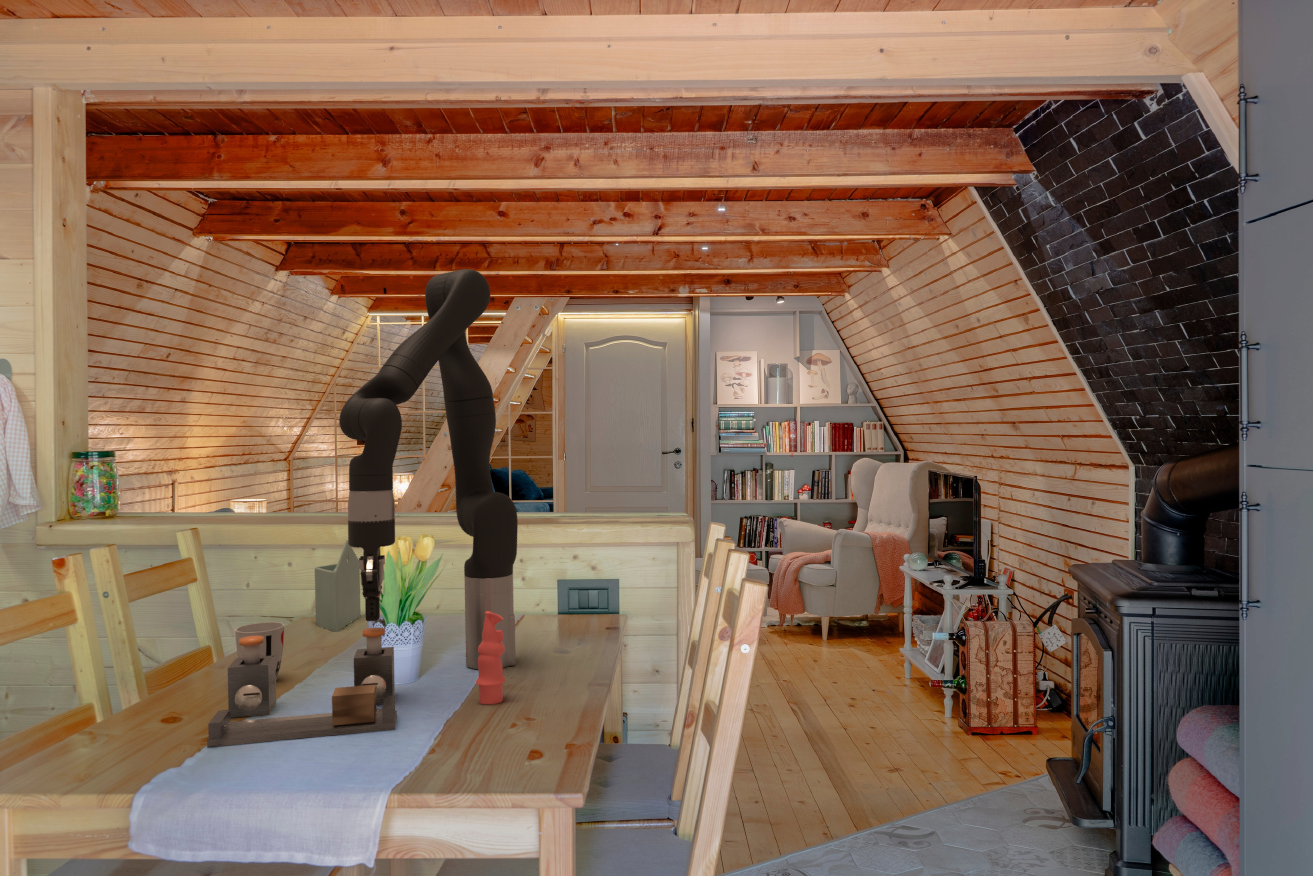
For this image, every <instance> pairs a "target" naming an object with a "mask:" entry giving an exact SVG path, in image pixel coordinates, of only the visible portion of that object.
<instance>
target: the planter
mask: <svg viewBox="0 0 1313 876" xmlns="http://www.w3.org/2000/svg"><path fill="white" fill-rule="evenodd" d="M360 573H361V570H360V569H359V557H358V556H357V554H356V553H355V551H354V549H353V547H351V546H350V545H349V544H348V540H347V539H346V540H345V542H344V544H343V548H342V550H341V553H340V556H339V559H338V561H337V563H335V564H327V565H321V566H315V567H314V595H315V596H314V599H315V600H314V601H315V603H314V605H315V607H314V608H315V625H316V626H318V627H320V628H322V627H323V628H322V629H326V630H329V631H331V632H334V633H338V632H339V631H341V630H342V628H343V629H344V628H346V627H347V626H348V625H350V624H351V623H352V622H351V621H353V620H354V621H356V620H357V619H359V618H360V617H361V574H360ZM354 621H353V622H354ZM350 622H351V623H350ZM349 623H350V624H349ZM347 624H348V625H347ZM346 625H347V626H346ZM345 626H346V627H345Z"/></svg>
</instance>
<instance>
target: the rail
mask: <svg viewBox="0 0 1313 876" xmlns="http://www.w3.org/2000/svg"><path fill="white" fill-rule="evenodd" d="M397 719H398V710H397V709H396V695H395V694H394V696H385V697H384V702H383V705H382V708H381V707H380V708H377V709H375V722H366V723H355V724H344V725H333V724H332V712H326V713H325V712H324V713H316V714H313V713H312V714H304V715H302V714H301V715H293V716H292V715H291V716H282V717H281V716H280V717H270V718H259V719H258V718H257V719H247V720H238V721H237V720H236V721H235V720H234V721H231V718H230V710H229V709H221V710H217V712H216V713H215V714H214V715H213V717H212V719H210V720H209V722H208V723H207V726H208V727H207V728H208V730H207V731H208V733H207V734H208V738H207V740H206V746H207V747H206V748H212V747H224V746H233V745H243V744H245V745H246V744H253V743H256V744H257V743H264V742H266V743H267V742H277V741H284V740H285V741H286V740H296V739H297V740H298V739H307V738H317V737H328V736H329V737H331V736H337V735H339V736H340V735H349V734H362V733H370V732H371V733H372V732H381V731H382V732H383V731H391V730H396V726H397Z"/></svg>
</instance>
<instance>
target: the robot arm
mask: <svg viewBox="0 0 1313 876" xmlns="http://www.w3.org/2000/svg"><path fill="white" fill-rule="evenodd" d="M424 299H425V301H424V302H425V307H426V312H427V315H428V321H427V322H426V323H424V324H423V325H422V326H421V327H420V328H418V329H417V330H416V331H414V332H413V333H412V334H411V335H410V336H408V337H407V338H406V339H405V340H403V341H402V342H401V343H399V345H398V346H397V347H396V349H394V351H393V352H392V353H391V354H390V356H389V357H388V359H387V360H385V362H384V364H383V365H382V366H381V368H380V369H379V371H378V372H377V374H376V375H375V376H373V378H371V379H370V380H368V381H367V382H366V383H364V384H363V385H362V386H361V387H360V388H359V389H358V390H357V391H355V392H354V393H353V394H352V395H351V396H350V397H349V398H348V400H346V402H345V403H344V405H343V406H342V408H341V411H340V413H339V418H338V419H339V420H338V421H339V422H338V423H339V428H340V430H341V432H342V433H343V434H344V435H345V436H346V437H347V438H349V439H352V440H353V441H354V440H355V441H365V442H364V445H363V449H362V453H361V454H359V455H356V456H354V457H352V458H351V459H350V461H349V466H348V489H349V492H348V500H347V539H348V544H349V545H350V546H351V547H352V548H361V549H362V550H363V555H360V556H359V557H358V560H359V569H360V586H362V587H361V588H362V596H363V599H365V600H364V603H365V604H364V605H365V611H364V613H365V615H364V616H365V621H367V622H377V621H379V620H380V617H381V601H380V600H381V599H380V598H381V595H382V589H383V585H382V584H383V582H384V577H385V576H384V574H385V573H384V566H385V564H386V555H385V554H381V547H382V548H383V547H384V548H385V547H389V546H392V545H394V544H395V542H396V505H395V504H396V503H395V497H394V473H393V472H394V471H393V466H394V461H395V458H396V456H397V450H398V447H399V443H400V438H401V433H402V429H403V427H402V426H403V420H402V414H401V412H400V409H399V406H398V405H401V404H405V403H407V402H408V401H410V400H411V399H412V397H413V396H414V395H415V394H416V392H417V391H418V389H420V386H421V385H422V384H423V382H424V381H425V379H426V378H427V376H428V375H429V373H430V372H431V370H432V369H433V368H434V367H435V365H436V364H437V363H438V365H439V373H440V377H441V378H440V379H441V382H442V383H441V385H442V393H443V402H444V408H445V409H444V410H445V416H446V422H447V427H448V428H447V429H448V433H449V440H450V441H449V442H450V449H451V454H452V456H451V457H452V462H453V468H454V483H455V485H454V487H455V488H454V489H455V512H456V513H455V514H456V519H457V523H458V525H459V528H460V529H461V530H462V531H463V532H464V533H465V534H466V535H468V536H470V537H472V552H471V556H470V557H469V558H467V559H466V560H465V562H464V564H463V565H464V566H463V567H464V569H463V573H464V579H463V580H464V621H465V622H464V623H465V625H464V627H465V632H464V633H465V665H466V667H468V668H471V669H475V670H479V669H478V658H479V656H480V654H479V653H478V647H479V645H480V644H481V642H482V631H483V627H484V620H485V616H486V615H485V612H486V611H491V612H492V613H495V614H498V615H500V616H501V617H502V618H503V619H504V620H501V621H500V622H498V623H497V624H496V625H495V628H496V630H502V632H503V638H504V639H503V641H501V642H502V643H503V644H504V646H505V651H504V653H503V654H502V656H500V659H501V661H502V666H503V668H506V667H510V666H511V667H512V666H516V665H517V663H516V662H517V661H516V659H517V658H516V656H517V654H516V616H515V611H514V607H515V606H514V564H515V561H516V558H517V555H518V554H517V553H518V528H519V527H518V526H519V523H518V513H517V511H518V510H517V508H516V505H515V502H514V501H513V500H512V498H511V497H510V496H509V495H507V494H506V493H502V492H499V491H494V487H493V482H492V481H493V480H492V475H491V469H490V468H491V467H490V460H491V451H492V447H493V443H494V439H495V434H496V427H497V426H496V425H497V417H496V416H497V415H496V407H495V399H494V393H493V388H492V384H491V383H490V381H489V379H488V377H487V375H486V374H485V372H484V371H483V369H482V368H481V366H480V365H479V363H478V362H477V360H476V359H475V357H474V355H473V353H472V352H471V350H470V347H469V344H468V341H467V335H466V330H468V328H469V327H471V326H472V324H474V323H475V322H476V321H477V320H478V319H479V318H480V317H481V316H482V315H483V314H484V312H485V311H486V310H487V308H488V306H489V303H490V301H491V288H490V285H489V282H488V280H487V279H486V277H485V276H484V274H482V273H481V272H479V271H477V270H475V269H471V268H467V269H465V268H464V269H458V270H457V269H456V270H452V271H448V272H444V273H439V274H436V275H433V276H432V277H431V278H430V279H429V280H428V282H427V284H426V287H425V293H424Z"/></svg>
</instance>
